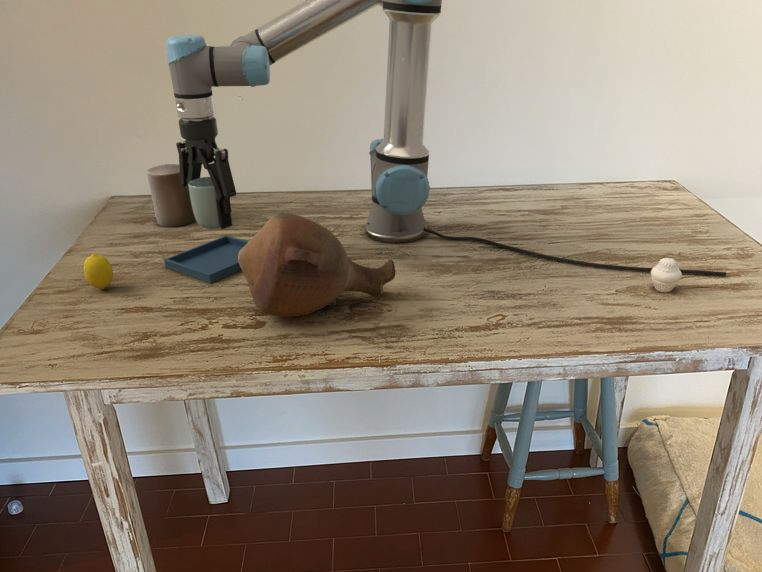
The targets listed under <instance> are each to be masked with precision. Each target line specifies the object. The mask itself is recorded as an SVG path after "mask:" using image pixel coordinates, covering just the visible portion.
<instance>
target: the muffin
mask: <svg viewBox="0 0 762 572" xmlns="http://www.w3.org/2000/svg"><path fill="white" fill-rule="evenodd" d="M652 268H653V269H652V270H651V271H650V276H651V280H652V284H653V286H654V288H655V290H656V291H657V292H661V293H670V292H672V291H673V290H674V289H675V287H676V286H677V285H678V284H679V282H680V281H681V279H682V276H683V273H681V271H680V270H679V267H678V262H677V260H676V259H674V258H671V257H664V258H661V259H660V260H659V262H658V263H657V265H654V266H653V267H652Z"/></svg>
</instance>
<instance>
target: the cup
mask: <svg viewBox="0 0 762 572" xmlns="http://www.w3.org/2000/svg"><path fill="white" fill-rule="evenodd" d="M188 187H189V194H190V200H191V205H192V210H193V213H194V216H195V219H196V221H195V222H196V223H197V224H198V225H199V227H201V228H204V229H207V230H209V229H210V230H214V229H216V230H217V229H221V228H220V221H219V215H218V208H217V202H216V199H217V198H219V197H218V195H217V192H216V190H215V187H214V185H213V183H212V180H211V178H210V176H204V177H203V176H200V178H197V179H194V180H192V181H190V182H189V184H188ZM222 193H223V192H222Z"/></svg>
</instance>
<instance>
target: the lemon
mask: <svg viewBox="0 0 762 572" xmlns="http://www.w3.org/2000/svg"><path fill="white" fill-rule="evenodd" d="M83 275H84V279H85V280H86V282H87V283H88V285H90V286H92V287H93V288H98V289H100V290H105V288H106V287H108V286H109V285H110V284H111V283H112V281H113V279H114V270H113V266H112V263H111V261H109V259H108V258H107V257H105V256H103V255H102V254H97V253H92V254H91V255H89V256H87V258H86V259H85V260H84V262H83Z"/></svg>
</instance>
